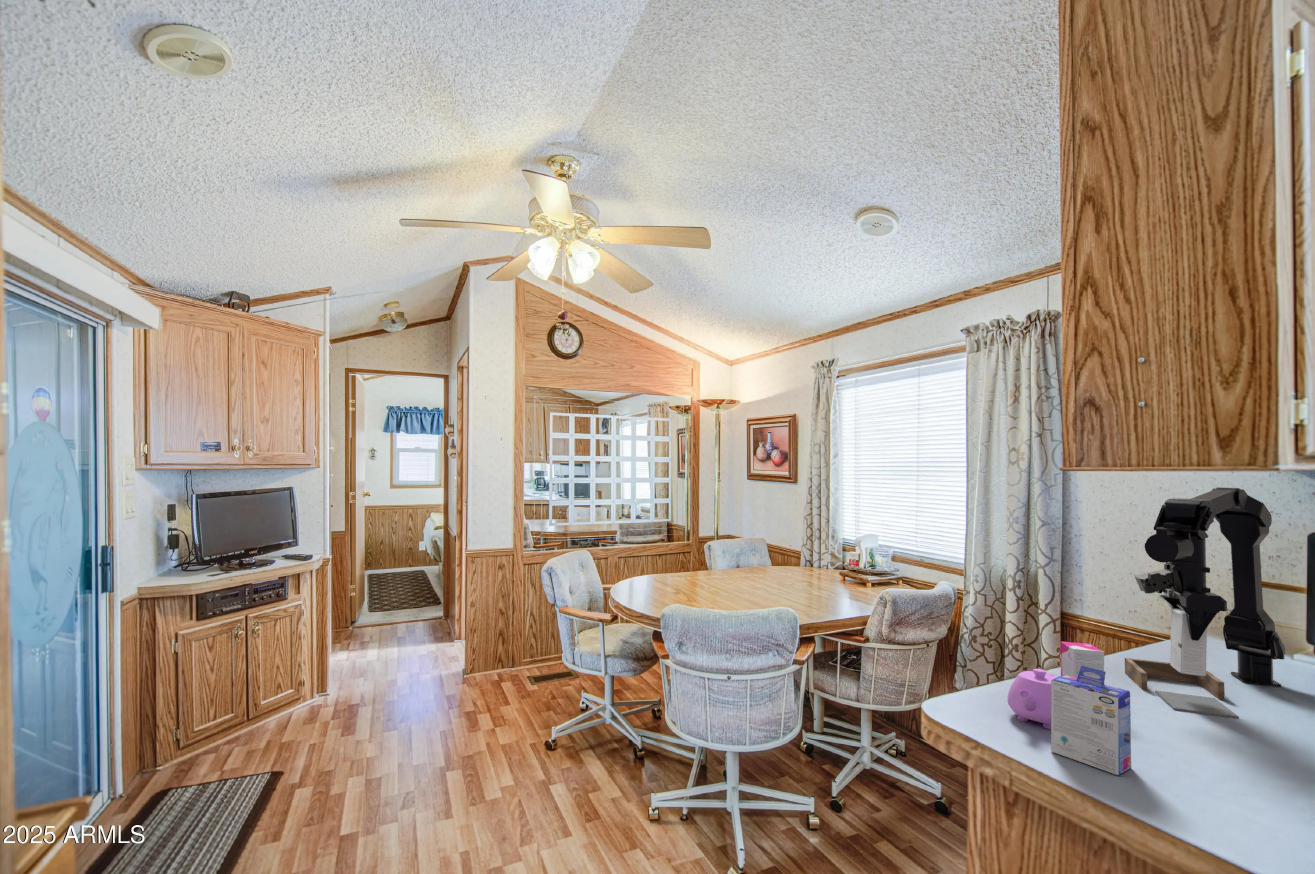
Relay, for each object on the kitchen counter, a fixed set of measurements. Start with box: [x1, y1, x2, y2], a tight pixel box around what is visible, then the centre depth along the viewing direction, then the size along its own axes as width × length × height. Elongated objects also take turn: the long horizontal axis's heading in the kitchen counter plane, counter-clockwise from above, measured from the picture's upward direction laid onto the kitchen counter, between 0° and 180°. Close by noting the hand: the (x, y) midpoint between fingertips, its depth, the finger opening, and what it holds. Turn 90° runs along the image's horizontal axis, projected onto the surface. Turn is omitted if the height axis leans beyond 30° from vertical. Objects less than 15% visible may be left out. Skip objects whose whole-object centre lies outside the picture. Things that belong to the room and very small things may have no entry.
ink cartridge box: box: [1050, 666, 1132, 776], centre depth 99 cm, size 10×6×14 cm, turn 36°
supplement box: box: [1060, 641, 1105, 679], centre depth 123 cm, size 6×6×12 cm
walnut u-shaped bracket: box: [1124, 657, 1226, 701], centre depth 133 cm, size 11×14×4 cm
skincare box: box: [1169, 608, 1208, 676], centre depth 125 cm, size 6×4×12 cm
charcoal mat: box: [1154, 690, 1240, 719], centre depth 123 cm, size 10×10×1 cm
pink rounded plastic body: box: [1007, 668, 1058, 730], centre depth 114 cm, size 10×15×9 cm
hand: (1188, 636), depth 125 cm, fingers closed on skincare box, 6 cm apart
